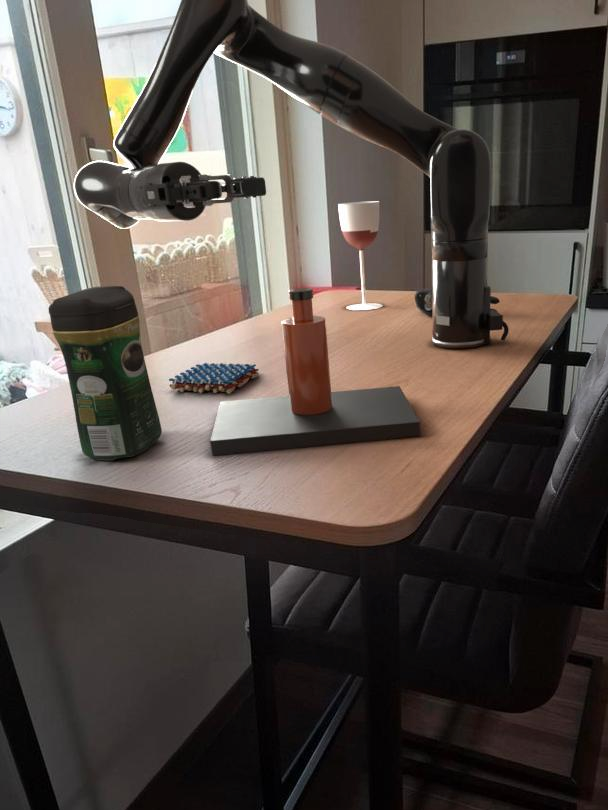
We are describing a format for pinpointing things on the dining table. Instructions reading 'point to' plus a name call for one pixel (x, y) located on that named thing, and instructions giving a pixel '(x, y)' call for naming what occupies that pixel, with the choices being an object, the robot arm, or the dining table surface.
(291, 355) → the oil bottle
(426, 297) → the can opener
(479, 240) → the robot arm
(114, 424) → the coffee jar
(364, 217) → the wineglass
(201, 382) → the woven mat
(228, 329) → the dining table surface
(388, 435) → the cutting board
